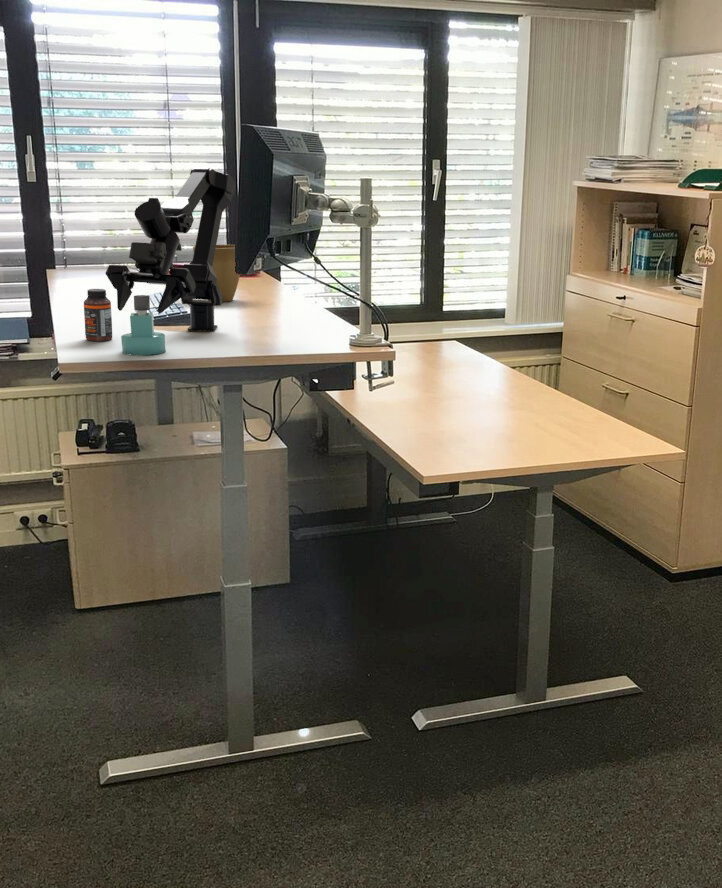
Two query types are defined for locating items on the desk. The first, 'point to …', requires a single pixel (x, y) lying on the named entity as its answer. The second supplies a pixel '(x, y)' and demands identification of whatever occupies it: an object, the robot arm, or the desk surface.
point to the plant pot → (225, 271)
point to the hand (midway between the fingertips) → (139, 310)
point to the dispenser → (143, 337)
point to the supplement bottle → (97, 316)
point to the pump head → (142, 304)
